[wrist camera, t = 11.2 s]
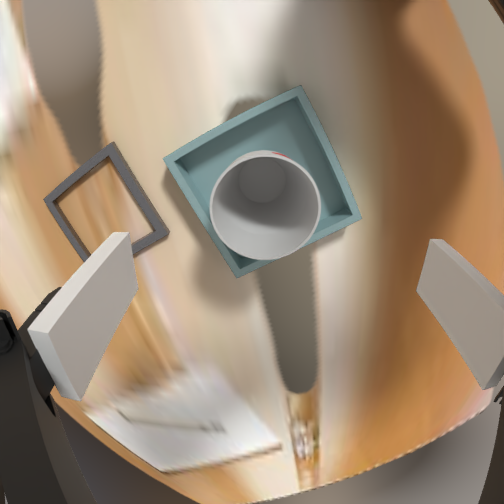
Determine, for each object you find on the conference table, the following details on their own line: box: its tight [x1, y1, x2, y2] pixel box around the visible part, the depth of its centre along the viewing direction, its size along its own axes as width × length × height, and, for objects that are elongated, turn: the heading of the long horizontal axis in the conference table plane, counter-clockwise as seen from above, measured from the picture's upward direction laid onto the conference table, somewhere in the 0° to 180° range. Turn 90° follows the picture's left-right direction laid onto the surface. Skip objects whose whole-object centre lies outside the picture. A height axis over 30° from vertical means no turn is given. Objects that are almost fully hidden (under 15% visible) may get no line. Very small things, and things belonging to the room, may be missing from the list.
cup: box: [210, 150, 321, 260], centre depth 27 cm, size 8×8×10 cm
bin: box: [163, 85, 362, 278], centre depth 31 cm, size 15×15×3 cm
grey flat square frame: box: [43, 142, 170, 262], centre depth 33 cm, size 12×12×1 cm
